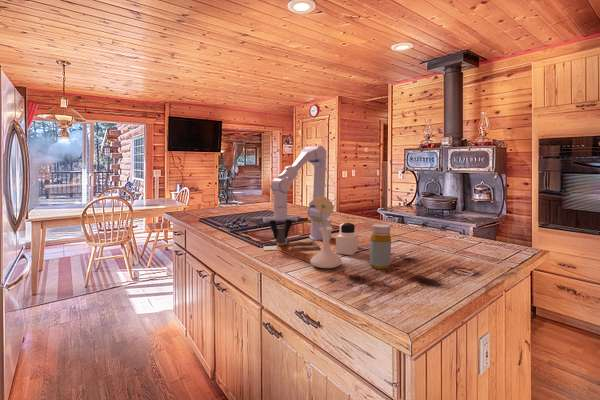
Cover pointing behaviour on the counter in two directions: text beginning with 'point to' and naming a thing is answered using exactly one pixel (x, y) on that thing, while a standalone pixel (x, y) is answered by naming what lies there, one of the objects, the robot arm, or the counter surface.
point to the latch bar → (282, 243)
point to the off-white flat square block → (269, 248)
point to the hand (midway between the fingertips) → (280, 238)
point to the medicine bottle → (346, 239)
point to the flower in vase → (325, 237)
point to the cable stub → (280, 235)
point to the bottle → (380, 246)
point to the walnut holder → (314, 247)
